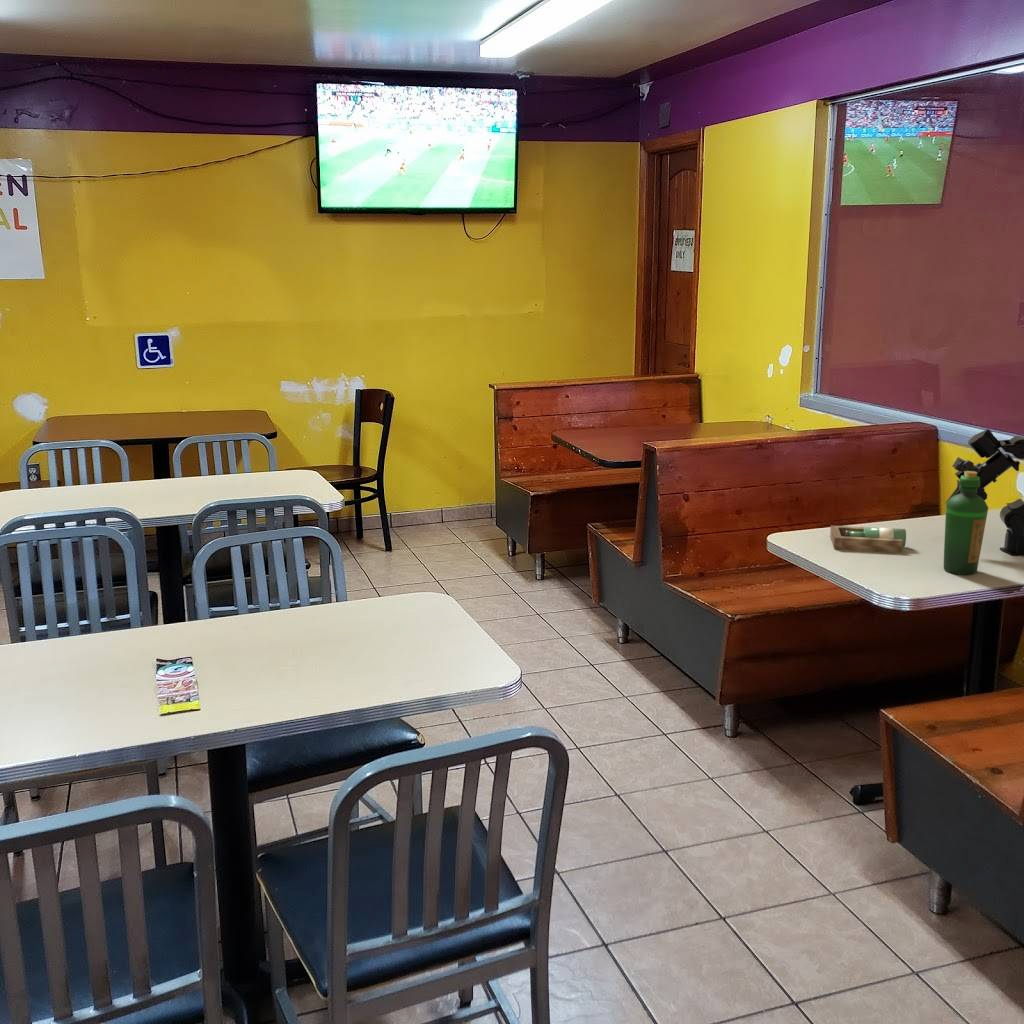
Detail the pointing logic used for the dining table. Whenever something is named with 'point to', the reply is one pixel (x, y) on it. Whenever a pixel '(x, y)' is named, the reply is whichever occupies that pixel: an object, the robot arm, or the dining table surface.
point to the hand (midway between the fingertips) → (946, 504)
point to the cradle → (862, 541)
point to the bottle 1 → (880, 533)
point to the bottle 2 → (964, 527)
